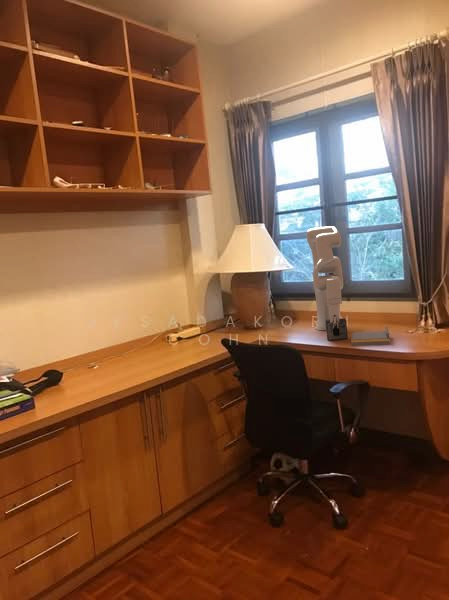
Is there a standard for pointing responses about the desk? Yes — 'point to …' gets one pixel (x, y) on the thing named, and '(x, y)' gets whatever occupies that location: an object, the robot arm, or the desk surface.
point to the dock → (371, 338)
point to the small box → (342, 330)
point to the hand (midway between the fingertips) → (336, 333)
